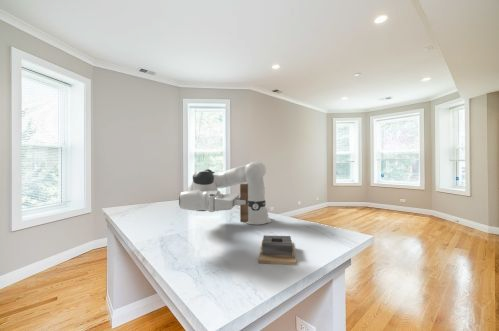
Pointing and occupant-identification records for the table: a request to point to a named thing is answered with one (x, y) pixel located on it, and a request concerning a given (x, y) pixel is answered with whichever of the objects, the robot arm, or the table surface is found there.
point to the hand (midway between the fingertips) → (246, 201)
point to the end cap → (277, 250)
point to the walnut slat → (245, 207)
